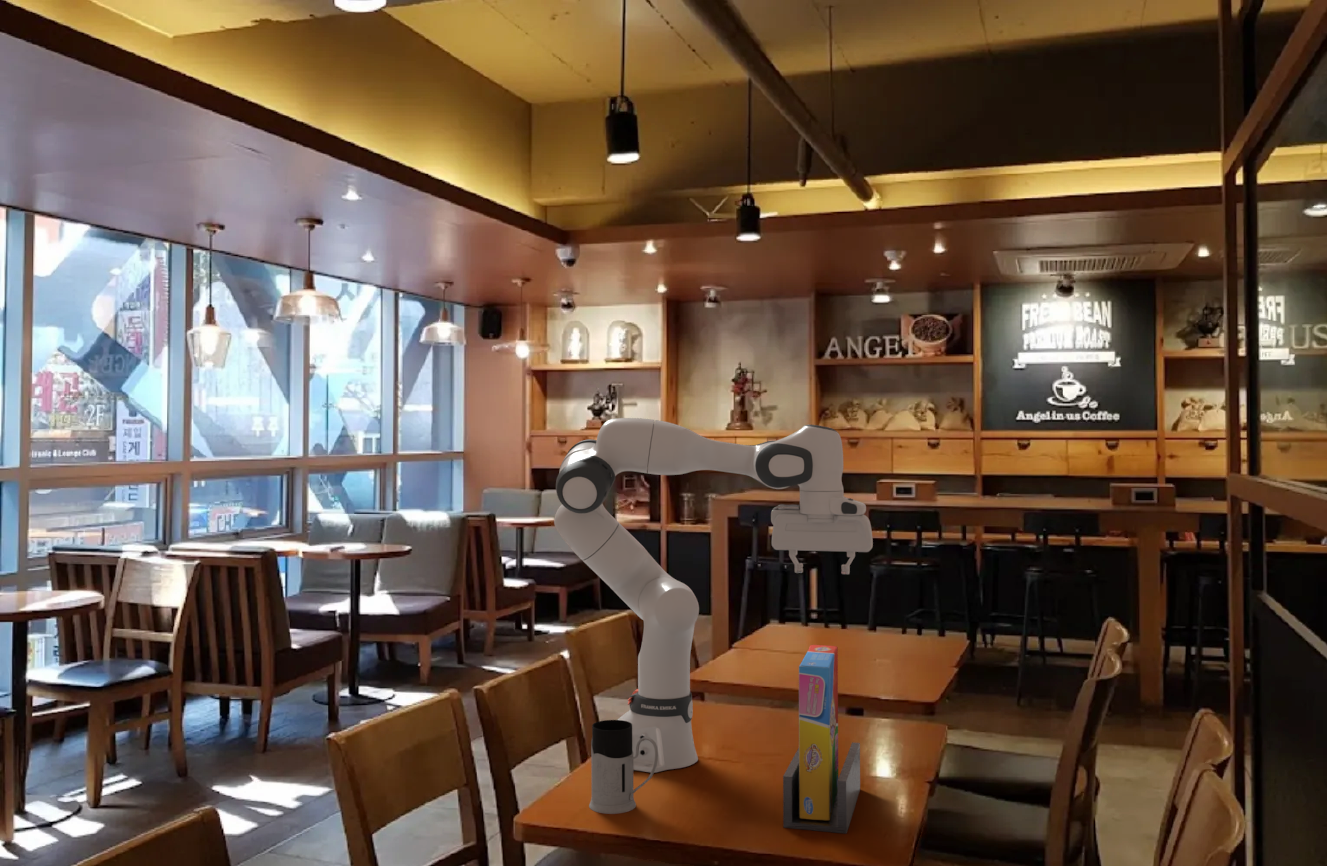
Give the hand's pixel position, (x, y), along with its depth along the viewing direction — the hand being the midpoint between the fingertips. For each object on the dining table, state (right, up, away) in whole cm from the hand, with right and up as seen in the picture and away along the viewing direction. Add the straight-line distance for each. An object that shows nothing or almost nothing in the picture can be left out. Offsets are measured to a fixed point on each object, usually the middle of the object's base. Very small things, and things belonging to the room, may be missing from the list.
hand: (822, 573), depth 213 cm
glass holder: (-39, -41, -18) cm, 60 cm away
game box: (-3, -40, -18) cm, 44 cm away
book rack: (-2, -41, -18) cm, 45 cm away
